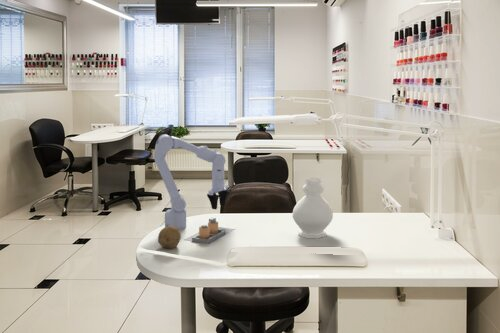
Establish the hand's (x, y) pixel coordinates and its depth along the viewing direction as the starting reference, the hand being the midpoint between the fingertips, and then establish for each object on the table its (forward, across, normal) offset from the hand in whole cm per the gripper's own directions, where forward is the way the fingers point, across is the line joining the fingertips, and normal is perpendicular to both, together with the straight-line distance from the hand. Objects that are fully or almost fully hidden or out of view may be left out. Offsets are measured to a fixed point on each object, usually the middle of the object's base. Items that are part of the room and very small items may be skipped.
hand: (218, 207), depth 246 cm
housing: (+9, -16, -5) cm, 19 cm away
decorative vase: (+10, +9, -43) cm, 45 cm away
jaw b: (+8, -16, -6) cm, 19 cm away
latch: (+8, -5, 0) cm, 10 cm away
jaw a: (+8, -24, -6) cm, 26 cm away
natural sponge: (+10, -38, +1) cm, 40 cm away
